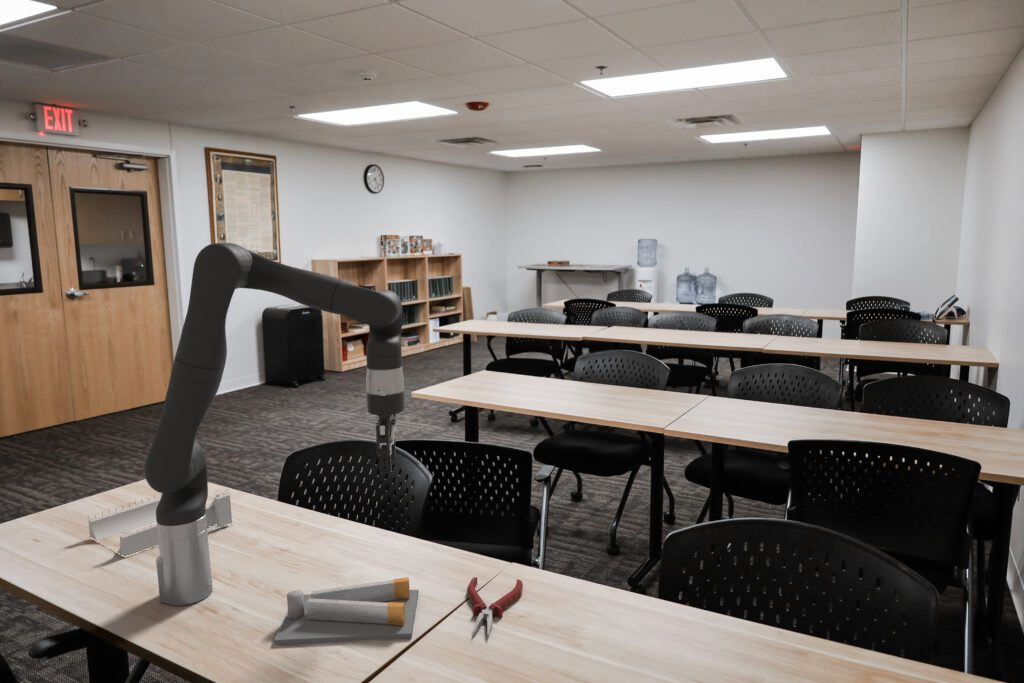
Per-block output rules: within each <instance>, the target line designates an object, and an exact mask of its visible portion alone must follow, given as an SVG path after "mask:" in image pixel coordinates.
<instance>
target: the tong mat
mask: <svg viewBox="0 0 1024 683" xmlns="http://www.w3.org/2000/svg"><path fill="white" fill-rule="evenodd" d="M409 591H410V598H407V599H400V600H388V601H381V602H383V603H389V602H397V603H405V619H406V622H405V624H404V626H400V625H388V624H380V623H364V622H347V621H331V620H314V619H308V613H307V601H308V600H309V598H311V599H312V597H311V594H304V591H302V590H300V589H296V590H291V591H289V592H288V593H287V594H286V600H287V604H286V605H287V614H286V616H285V617H284V620H283V621H282V623H281V625H280V628H279V629H278V632H277V634H276V636H275V637H274V639H273V643H274V646H283V645H284V646H286V645H303V644H305V645H306V644H323V643H324V644H325V643H341V642H342V643H344V642H361V641H384V640H383V639H387V640H402V639H403V638H407V639H412V638H413V632H414V627H413V626H414V625H415V620H416V614H415V613H417V607H418V601H417V600H419V595H418V594H419V589H409ZM381 639H382V640H381ZM403 640H404V639H403Z"/></svg>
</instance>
